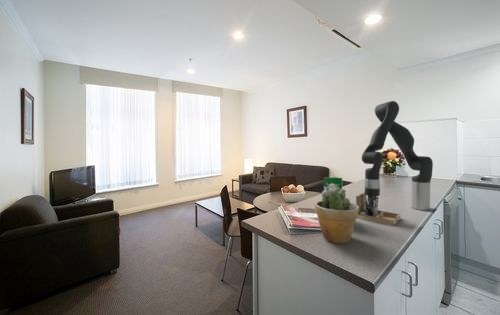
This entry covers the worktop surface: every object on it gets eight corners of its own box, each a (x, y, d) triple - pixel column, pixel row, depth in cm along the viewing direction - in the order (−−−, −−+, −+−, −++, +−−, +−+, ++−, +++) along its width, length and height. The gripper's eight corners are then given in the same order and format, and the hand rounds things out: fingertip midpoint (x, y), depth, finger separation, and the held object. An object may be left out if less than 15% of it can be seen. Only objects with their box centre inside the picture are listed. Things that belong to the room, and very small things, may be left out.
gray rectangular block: (369, 214, 125) (369, 204, 125) (377, 216, 122) (377, 206, 121) (366, 216, 122) (366, 206, 122) (375, 218, 119) (375, 208, 118)
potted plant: (310, 230, 107) (310, 181, 106) (348, 229, 107) (348, 180, 105) (322, 247, 89) (321, 188, 87) (367, 247, 88) (367, 187, 87)
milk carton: (342, 218, 122) (342, 175, 121) (342, 224, 114) (341, 177, 112) (325, 216, 126) (325, 174, 124) (324, 222, 118) (323, 177, 116)
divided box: (365, 212, 131) (365, 191, 130) (400, 219, 118) (400, 196, 117) (356, 218, 121) (356, 196, 121) (393, 226, 108) (393, 201, 107)
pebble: (360, 215, 124) (360, 210, 124) (366, 217, 121) (366, 211, 121) (358, 217, 122) (358, 211, 121) (364, 218, 119) (364, 213, 119)
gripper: (369, 184, 128) (369, 212, 129) (360, 187, 119) (360, 218, 120) (383, 185, 123) (383, 214, 124) (375, 189, 113) (375, 221, 114)
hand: (372, 216), depth 122 cm, fingers closed on gray rectangular block, 4 cm apart
